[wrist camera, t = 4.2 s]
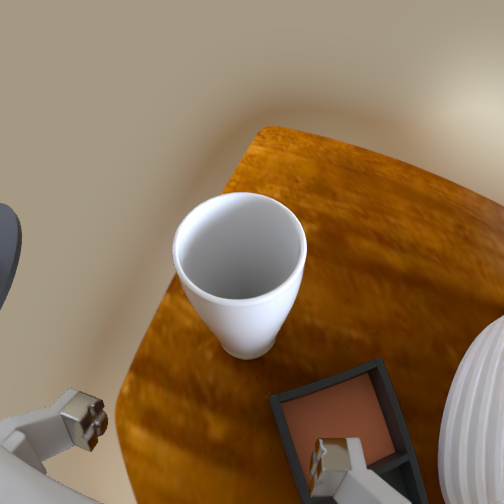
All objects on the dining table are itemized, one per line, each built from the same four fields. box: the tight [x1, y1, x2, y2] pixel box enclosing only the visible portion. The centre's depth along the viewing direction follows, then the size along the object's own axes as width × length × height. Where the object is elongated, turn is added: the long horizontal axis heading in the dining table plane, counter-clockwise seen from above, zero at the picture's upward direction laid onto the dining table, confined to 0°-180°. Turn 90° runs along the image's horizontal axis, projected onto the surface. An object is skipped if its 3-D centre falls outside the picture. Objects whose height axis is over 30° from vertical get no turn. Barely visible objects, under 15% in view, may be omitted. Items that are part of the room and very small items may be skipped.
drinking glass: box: [172, 192, 307, 360], centre depth 21 cm, size 7×7×15 cm
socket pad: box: [268, 357, 429, 504], centre depth 18 cm, size 10×19×3 cm, turn 16°
